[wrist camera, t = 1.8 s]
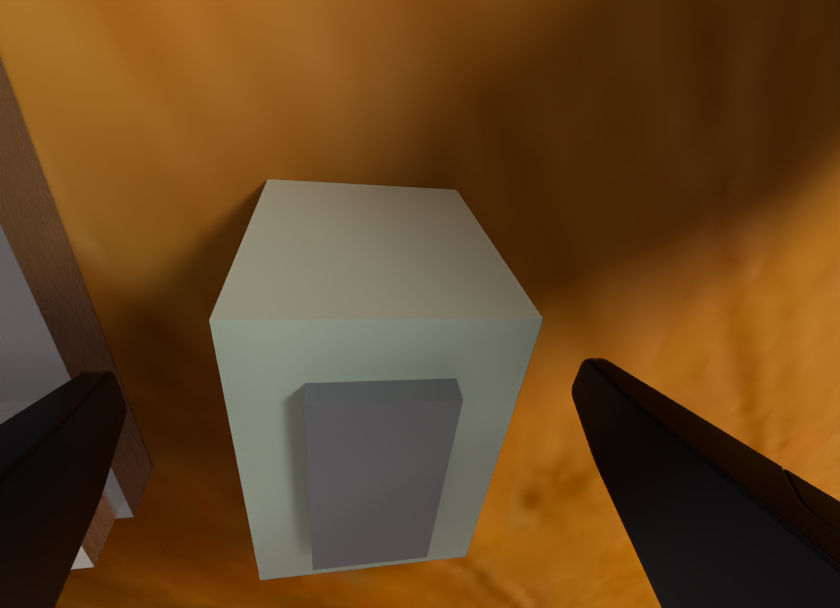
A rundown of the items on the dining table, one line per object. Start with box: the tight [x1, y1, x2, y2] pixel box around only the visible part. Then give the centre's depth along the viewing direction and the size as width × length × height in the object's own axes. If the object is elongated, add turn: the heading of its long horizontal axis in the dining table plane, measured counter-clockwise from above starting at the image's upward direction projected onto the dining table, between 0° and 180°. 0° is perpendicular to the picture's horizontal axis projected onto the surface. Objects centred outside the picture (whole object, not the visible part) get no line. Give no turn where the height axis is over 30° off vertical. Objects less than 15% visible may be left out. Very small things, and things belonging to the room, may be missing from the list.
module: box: [209, 179, 543, 580], centre depth 9 cm, size 4×6×5 cm, turn 174°
